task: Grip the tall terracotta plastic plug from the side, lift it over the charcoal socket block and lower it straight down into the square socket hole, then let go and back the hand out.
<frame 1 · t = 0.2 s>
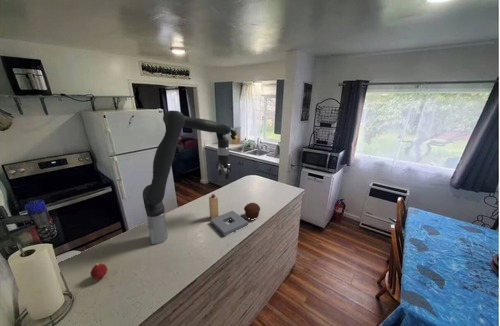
hand: (223, 176, 131), 29 cm above the counter, tool pointing down, fingers open, 8 cm apart
onion: (100, 278, 86), on the counter
plug: (214, 217, 134), on the counter
socket: (229, 224, 127), on the counter
muffin: (251, 217, 136), on the counter
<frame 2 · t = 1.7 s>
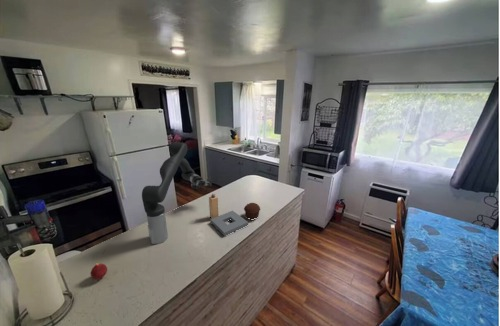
hand: (205, 186, 137), 20 cm above the counter, tool horizontal, fingers open, 8 cm apart
nothing on the counter moved.
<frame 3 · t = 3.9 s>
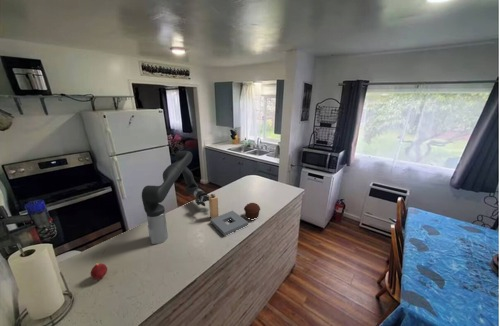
hand: (210, 203, 135), 9 cm above the counter, tool horizontal, fingers open, 8 cm apart
nothing on the counter moved.
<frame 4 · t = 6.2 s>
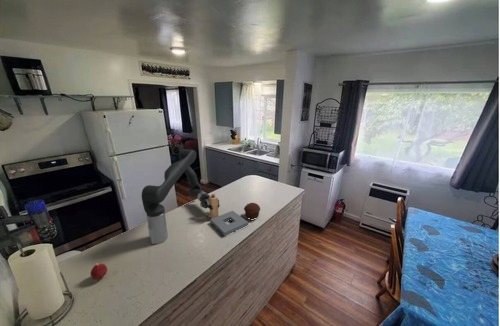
hand: (215, 207, 129), 10 cm above the counter, tool horizontal, fingers closed on plug, 4 cm apart
plug: (214, 217, 134), on the counter, touching gripper
everything else where it was.
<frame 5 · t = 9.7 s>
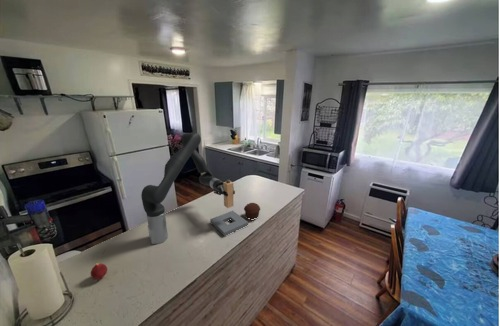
hand: (230, 193, 118), 23 cm above the counter, tool horizontal, fingers closed on plug, 4 cm apart
plug: (228, 205, 123), point 14 cm above the counter, touching gripper
everything else where it was.
when the fingers open (10 cm above the counter, at t = 13.4 s): plug stays where it is, resting in socket.
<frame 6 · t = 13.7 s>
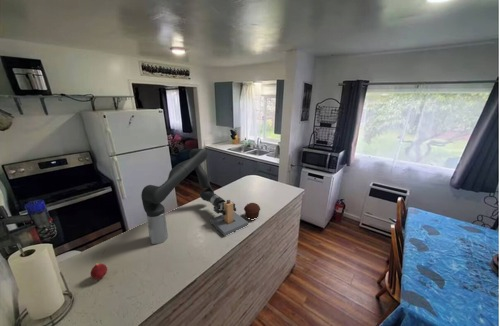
hand: (230, 211, 122), 11 cm above the counter, tool horizontal, fingers open, 7 cm apart
plug: (228, 224, 127), resting in socket
everything else where it was.
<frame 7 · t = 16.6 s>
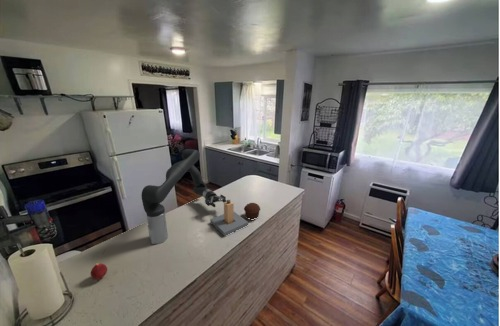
hand: (220, 204, 132), 11 cm above the counter, tool horizontal, fingers open, 8 cm apart
nothing on the counter moved.
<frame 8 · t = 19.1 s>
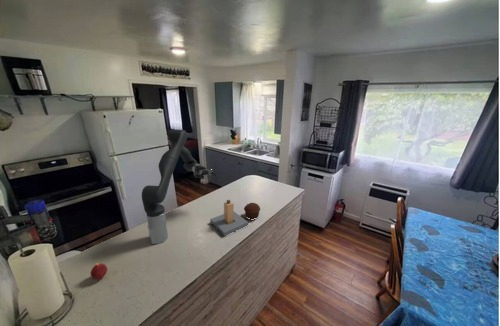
hand: (209, 176, 128), 30 cm above the counter, tool horizontal, fingers open, 8 cm apart
nothing on the counter moved.
at the end: plug 0.1 cm off-centre on the socket, point 0.0 cm above the socket's base; plug tilted 0°; the gripper is holding nothing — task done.
